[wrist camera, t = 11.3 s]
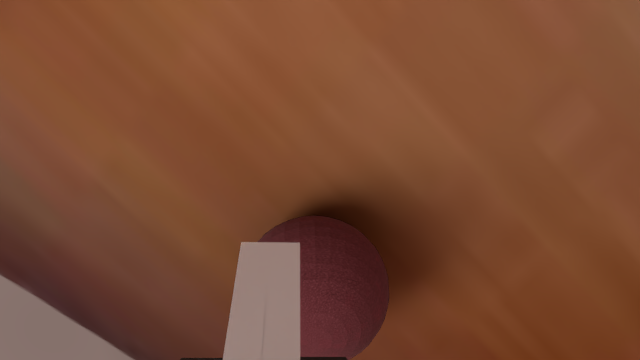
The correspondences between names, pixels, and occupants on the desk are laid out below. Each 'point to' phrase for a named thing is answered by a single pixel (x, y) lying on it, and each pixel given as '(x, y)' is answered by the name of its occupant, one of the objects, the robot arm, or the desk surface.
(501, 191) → the desk surface
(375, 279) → the decorative ball
